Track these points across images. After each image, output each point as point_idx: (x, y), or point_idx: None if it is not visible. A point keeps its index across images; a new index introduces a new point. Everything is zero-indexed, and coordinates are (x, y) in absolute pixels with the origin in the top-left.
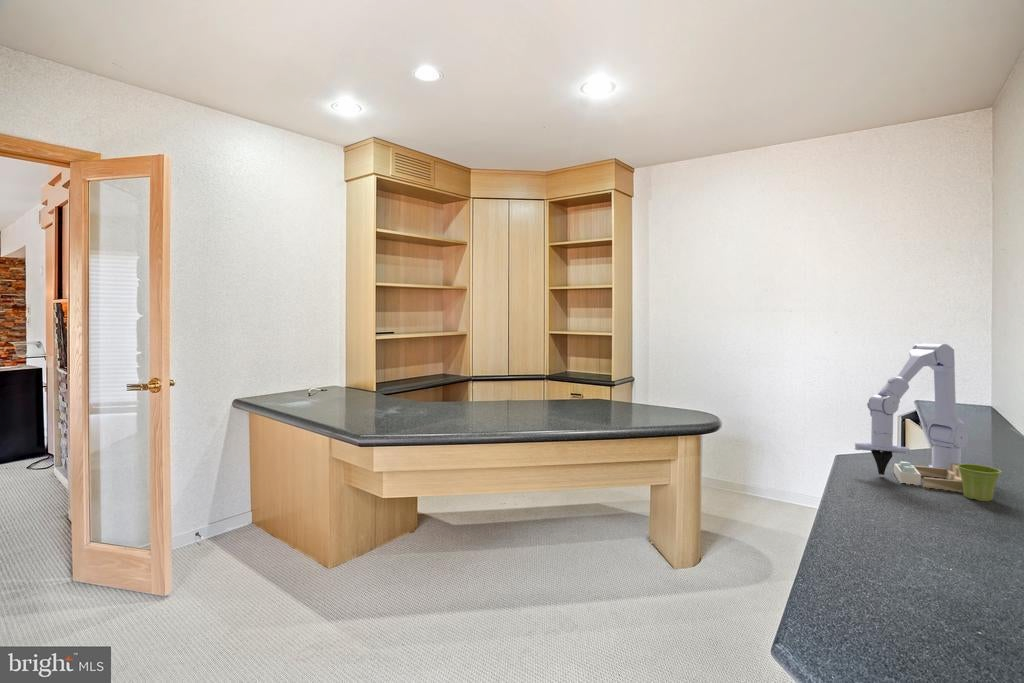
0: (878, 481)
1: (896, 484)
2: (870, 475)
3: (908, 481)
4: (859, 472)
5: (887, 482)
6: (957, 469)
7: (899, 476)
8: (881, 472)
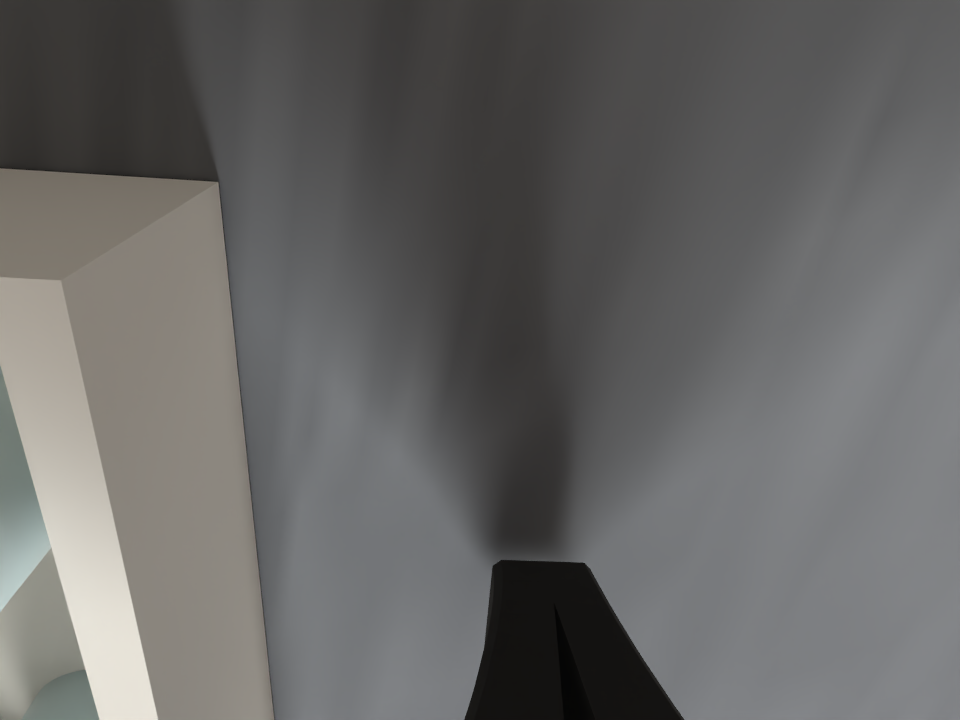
0: (700, 177)
1: (325, 32)
2: (691, 595)
3: (2, 187)
4: (808, 701)
5: (508, 164)
6: None
7: (192, 415)
8: (556, 590)
